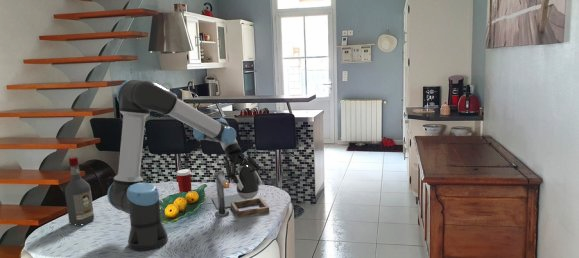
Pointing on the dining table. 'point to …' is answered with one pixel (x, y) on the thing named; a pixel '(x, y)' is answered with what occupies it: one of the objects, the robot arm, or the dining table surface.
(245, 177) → the dark grey rounded cone
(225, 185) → the clip
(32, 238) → the dining table surface
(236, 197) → the mat
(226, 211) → the post
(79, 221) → the liquor
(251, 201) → the cradle
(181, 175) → the paper cup
